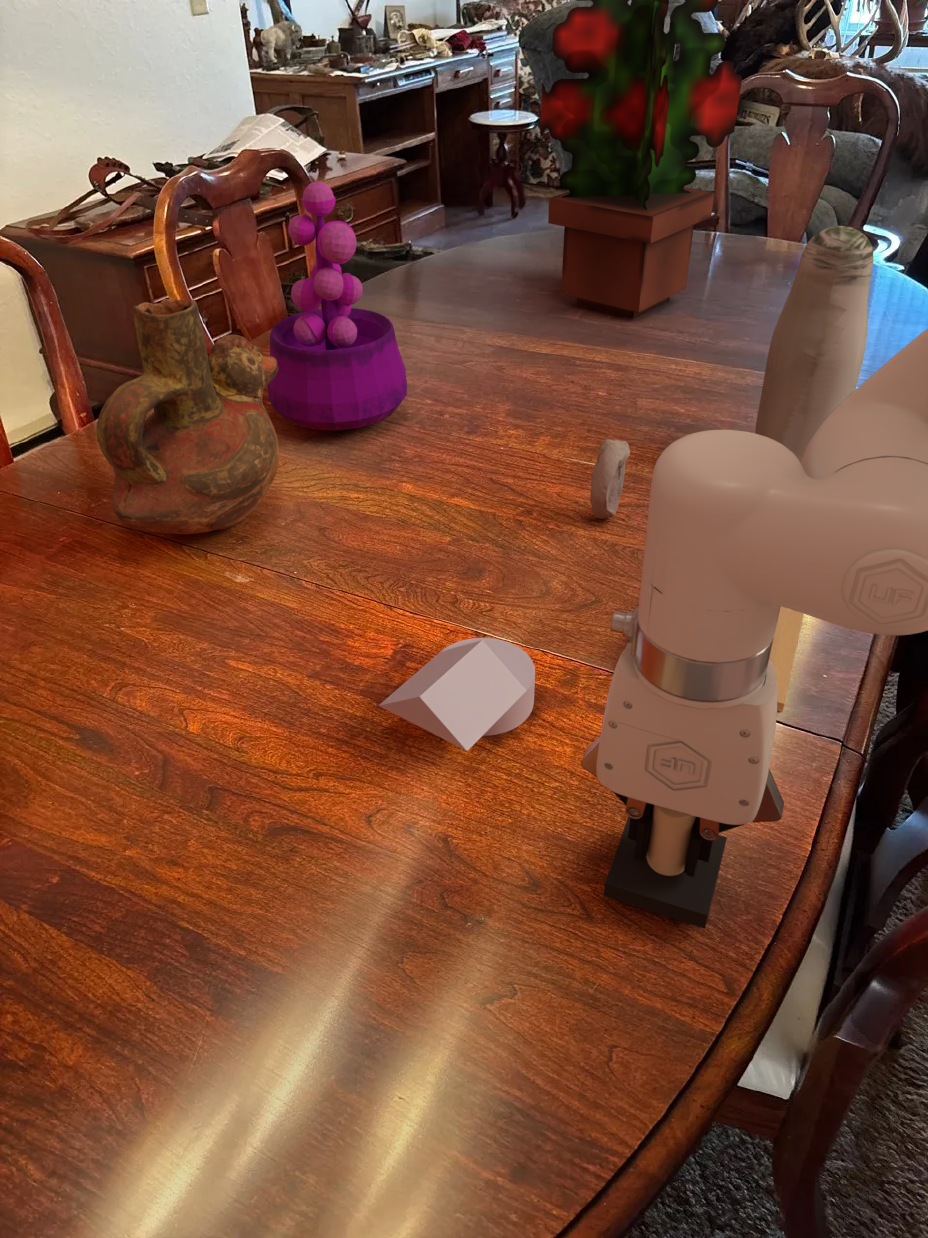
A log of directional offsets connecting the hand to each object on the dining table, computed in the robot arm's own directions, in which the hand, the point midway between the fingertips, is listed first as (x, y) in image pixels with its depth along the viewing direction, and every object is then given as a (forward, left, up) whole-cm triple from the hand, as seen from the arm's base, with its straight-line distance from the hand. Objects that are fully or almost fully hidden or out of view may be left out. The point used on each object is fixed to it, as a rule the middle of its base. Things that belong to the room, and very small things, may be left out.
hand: (668, 851), depth 64 cm
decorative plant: (+58, -59, -3) cm, 83 cm away
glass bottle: (-1, -66, -3) cm, 66 cm away
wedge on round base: (+19, -11, -3) cm, 23 cm away
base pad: (+1, -28, -3) cm, 28 cm away
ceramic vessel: (+59, -31, -3) cm, 67 cm away
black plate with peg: (0, 0, -2) cm, 2 cm away
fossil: (+17, -46, -3) cm, 49 cm away
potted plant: (+34, -118, -3) cm, 123 cm away
